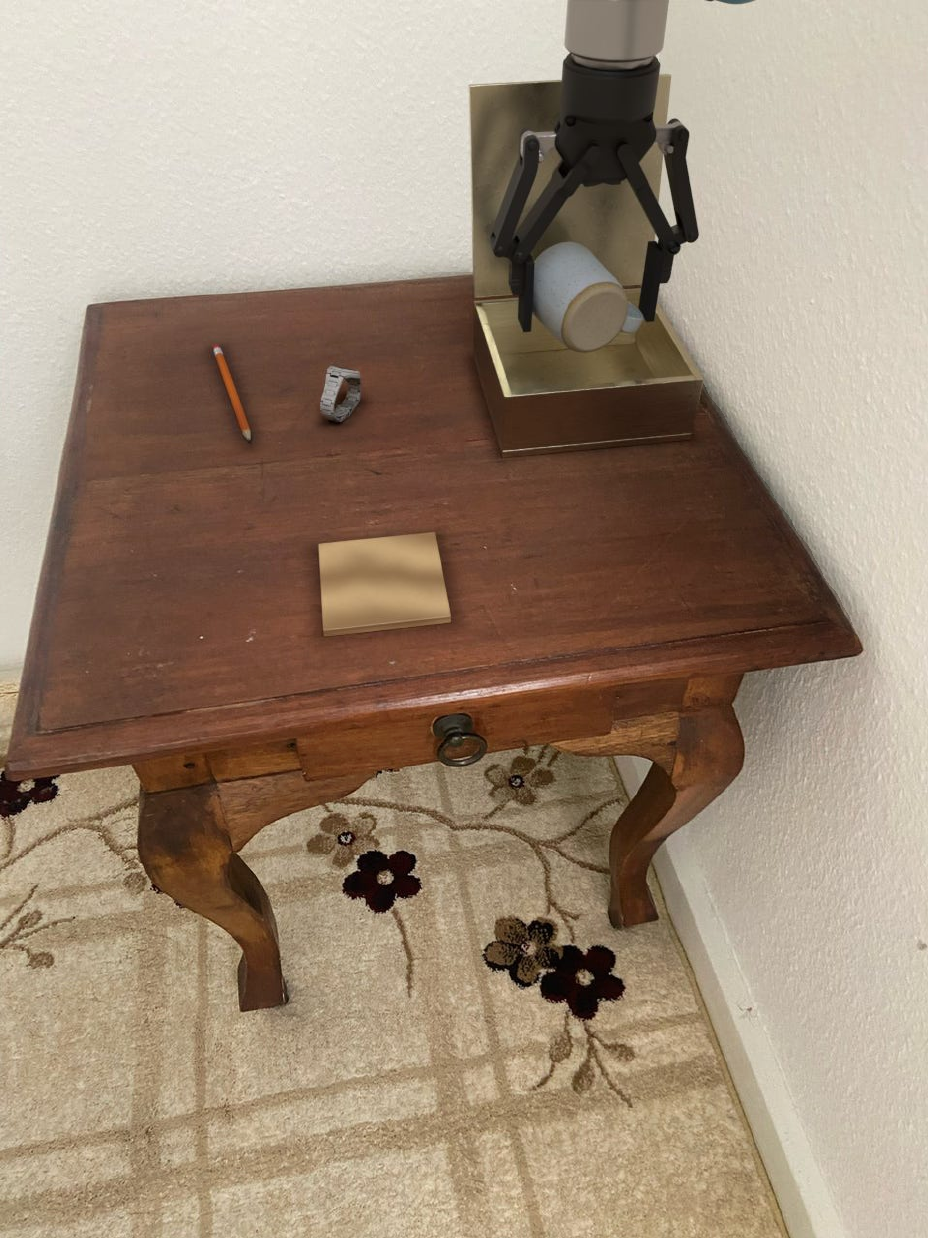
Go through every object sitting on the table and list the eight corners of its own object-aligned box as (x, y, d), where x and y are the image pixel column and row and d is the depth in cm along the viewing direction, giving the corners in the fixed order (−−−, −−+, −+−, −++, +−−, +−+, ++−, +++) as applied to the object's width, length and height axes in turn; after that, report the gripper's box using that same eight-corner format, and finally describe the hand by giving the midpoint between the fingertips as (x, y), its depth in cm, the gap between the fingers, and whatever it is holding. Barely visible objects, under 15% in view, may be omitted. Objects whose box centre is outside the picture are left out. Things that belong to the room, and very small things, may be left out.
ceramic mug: (560, 365, 80) (568, 285, 74) (520, 325, 85) (524, 246, 79) (658, 342, 83) (673, 263, 77) (613, 304, 88) (624, 227, 82)
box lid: (671, 74, 79) (653, 68, 83) (469, 85, 78) (461, 78, 82) (650, 284, 91) (636, 269, 95) (474, 297, 89) (467, 282, 93)
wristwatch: (370, 400, 90) (366, 356, 86) (343, 433, 86) (337, 389, 82) (340, 393, 90) (335, 349, 87) (311, 425, 87) (304, 381, 83)
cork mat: (451, 622, 69) (451, 616, 68) (324, 637, 68) (322, 630, 67) (435, 538, 75) (435, 531, 75) (319, 550, 74) (318, 543, 74)
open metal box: (690, 440, 85) (704, 378, 80) (502, 458, 83) (504, 396, 78) (639, 345, 96) (648, 287, 91) (473, 359, 95) (473, 300, 90)
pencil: (221, 350, 96) (219, 343, 96) (256, 446, 85) (254, 438, 84) (213, 351, 96) (211, 344, 96) (247, 448, 84) (245, 440, 84)
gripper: (741, 33, 71) (692, 291, 87) (453, 48, 68) (457, 310, 84) (777, 60, 66) (718, 329, 82) (468, 77, 63) (469, 350, 79)
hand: (585, 319), depth 83 cm, fingers closed on ceramic mug, 11 cm apart
